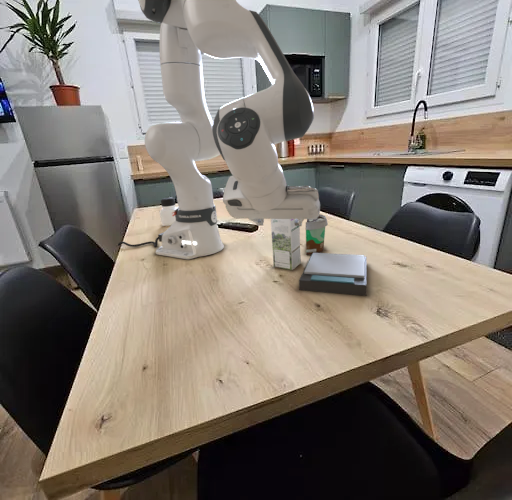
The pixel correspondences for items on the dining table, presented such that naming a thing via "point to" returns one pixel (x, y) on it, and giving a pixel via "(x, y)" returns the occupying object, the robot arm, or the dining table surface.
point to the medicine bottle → (168, 211)
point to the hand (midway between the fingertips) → (279, 223)
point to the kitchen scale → (335, 274)
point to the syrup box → (285, 243)
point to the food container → (315, 234)
